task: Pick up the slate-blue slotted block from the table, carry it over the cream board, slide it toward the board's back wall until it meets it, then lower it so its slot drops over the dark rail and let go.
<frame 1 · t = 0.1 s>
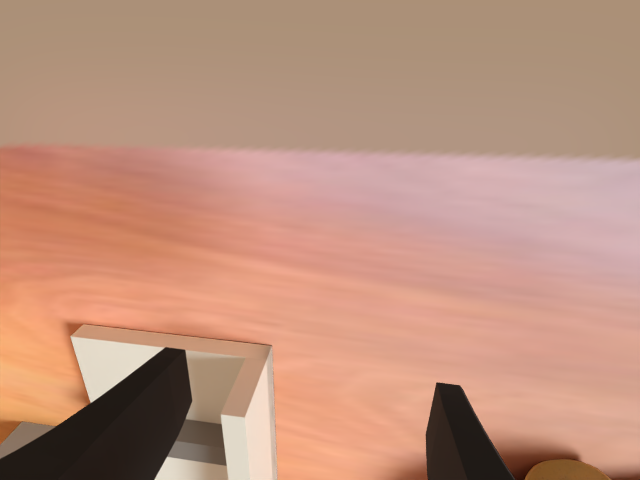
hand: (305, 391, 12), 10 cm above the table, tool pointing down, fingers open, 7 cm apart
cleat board: (187, 412, 28), on the table
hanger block: (73, 450, 32), on the table
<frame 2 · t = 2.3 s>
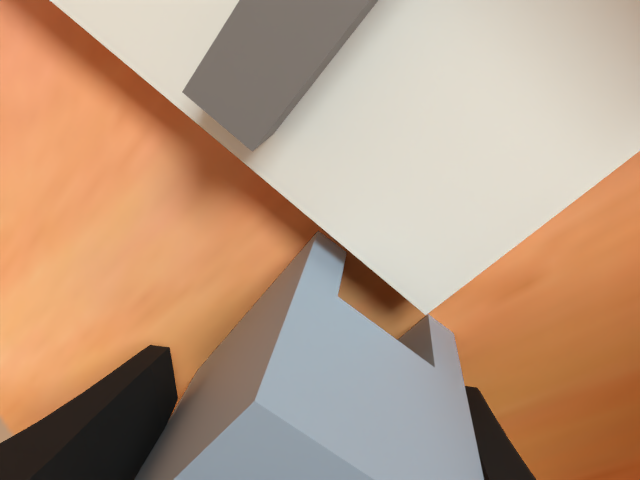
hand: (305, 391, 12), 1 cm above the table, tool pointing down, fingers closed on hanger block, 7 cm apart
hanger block: (314, 353, 13), on the table, touching gripper
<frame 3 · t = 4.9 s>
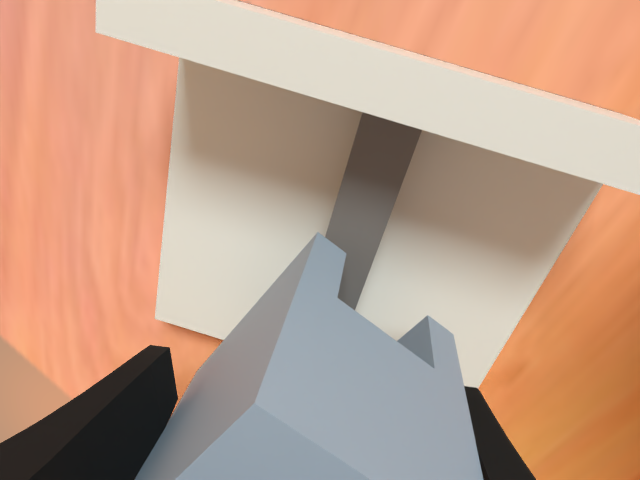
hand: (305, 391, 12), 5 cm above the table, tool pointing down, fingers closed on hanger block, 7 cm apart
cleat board: (352, 225, 15), on the table
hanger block: (314, 354, 13), point 4 cm above the table, touching gripper
when the fingers open (5 cm above the table, at t = 5.8 s): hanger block stays where it is, resting on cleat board.
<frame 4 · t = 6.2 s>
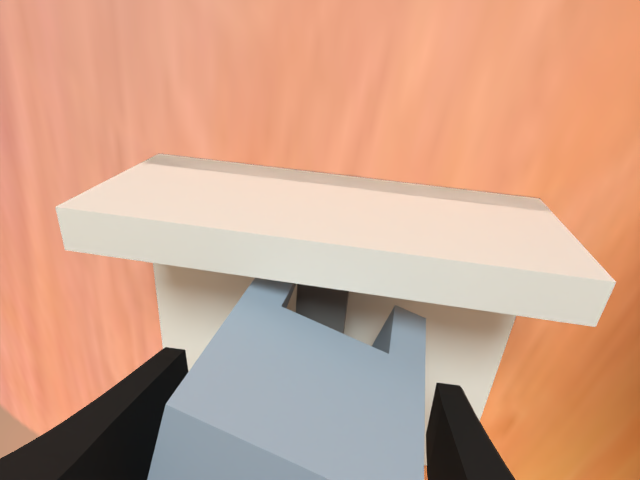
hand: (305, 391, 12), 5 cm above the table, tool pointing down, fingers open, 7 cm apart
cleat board: (326, 318, 17), on the table
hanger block: (311, 362, 14), point 3 cm above the table, touching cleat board, gripper
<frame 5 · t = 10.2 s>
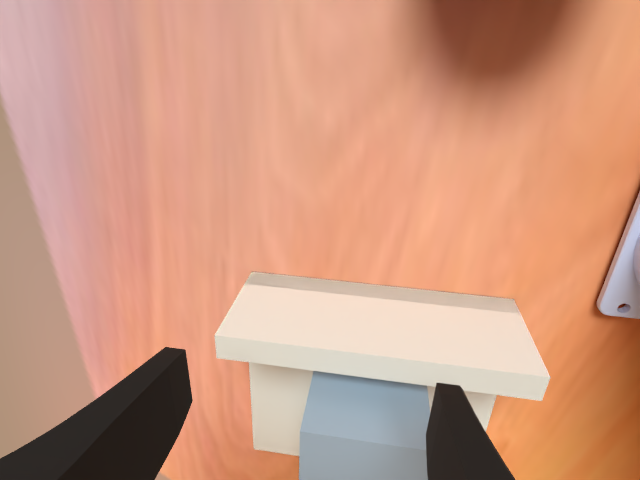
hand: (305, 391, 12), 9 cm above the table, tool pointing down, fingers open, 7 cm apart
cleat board: (368, 375, 24), on the table
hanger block: (366, 390, 23), point 1 cm above the table, touching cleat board
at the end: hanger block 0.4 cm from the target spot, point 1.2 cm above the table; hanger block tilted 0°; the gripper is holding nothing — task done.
